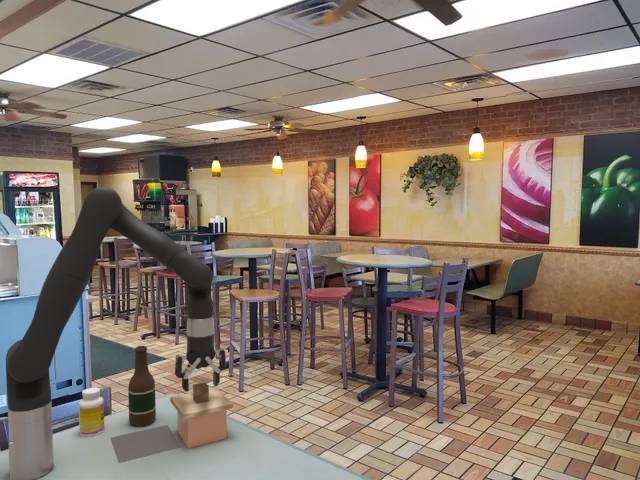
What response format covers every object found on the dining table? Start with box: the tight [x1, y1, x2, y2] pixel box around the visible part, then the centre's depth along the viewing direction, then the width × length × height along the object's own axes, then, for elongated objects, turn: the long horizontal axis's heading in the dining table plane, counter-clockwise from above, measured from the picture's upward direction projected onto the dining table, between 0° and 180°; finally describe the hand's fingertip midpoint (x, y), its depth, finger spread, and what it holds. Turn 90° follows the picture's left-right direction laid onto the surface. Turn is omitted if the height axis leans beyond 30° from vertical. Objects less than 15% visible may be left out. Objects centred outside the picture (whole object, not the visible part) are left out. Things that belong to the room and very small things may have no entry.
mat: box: [110, 424, 182, 464], centre depth 132 cm, size 16×16×1 cm
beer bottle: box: [127, 345, 157, 428], centre depth 144 cm, size 8×8×24 cm
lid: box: [169, 381, 234, 419], centre depth 135 cm, size 14×14×6 cm
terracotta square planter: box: [177, 409, 228, 449], centre depth 136 cm, size 11×11×10 cm
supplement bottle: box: [78, 387, 105, 438], centre depth 138 cm, size 7×7×13 cm
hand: (201, 387), depth 135 cm, fingers open, 8 cm apart
